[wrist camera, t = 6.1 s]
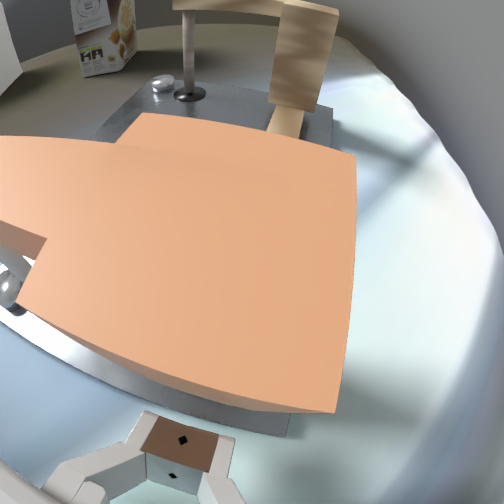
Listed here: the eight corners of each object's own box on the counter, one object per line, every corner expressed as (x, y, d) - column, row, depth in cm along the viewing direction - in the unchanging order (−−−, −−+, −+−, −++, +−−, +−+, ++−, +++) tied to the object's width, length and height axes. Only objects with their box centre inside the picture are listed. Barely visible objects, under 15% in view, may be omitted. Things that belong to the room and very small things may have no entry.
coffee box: (122, 71, 31) (112, -32, 17) (82, 78, 30) (66, -18, 16) (139, 50, 35) (134, -36, 21) (103, 55, 34) (94, -26, 21)
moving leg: (22, 317, 12) (-103, 203, 3) (50, 257, 14) (-41, 119, 5) (249, 410, 11) (334, 413, 3) (270, 328, 13) (355, 155, 5)
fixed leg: (30, 322, 13) (-99, 208, 3) (188, 84, 26) (188, -9, 17) (248, 410, 12) (324, 413, 3) (313, 107, 25) (338, 9, 16)
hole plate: (-8, 313, 13) (-26, 300, 11) (153, 87, 28) (151, 71, 26) (280, 435, 12) (289, 439, 11) (330, 117, 27) (335, 100, 25)
